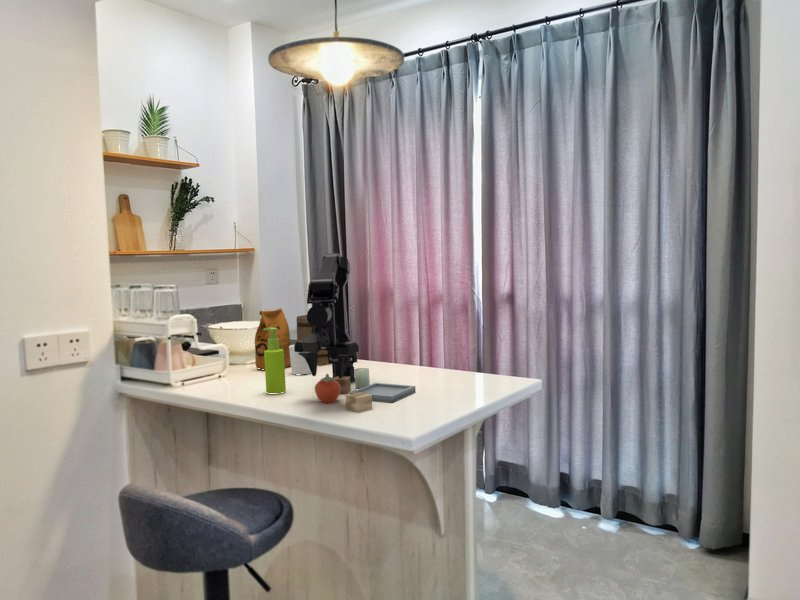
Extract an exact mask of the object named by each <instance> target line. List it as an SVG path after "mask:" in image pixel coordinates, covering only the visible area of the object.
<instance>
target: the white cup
mask: <svg viewBox="0 0 800 600" xmlns="http://www.w3.org/2000/svg"><path fill="white" fill-rule="evenodd" d="M294 345H295V344H291V345H290V346H289V353H290V363H291V366H290V368H291V369H290V370H291V375H293V374H306V375H310V374H312V373H311V371H310V368H309V366H308V363H307V361H306V360H305V358H304V357H303V356H301V355H299V354H298V353H300V352H295V351H294ZM309 373H310V374H309Z"/></svg>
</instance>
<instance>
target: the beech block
mask: <svg viewBox="0 0 800 600" xmlns="http://www.w3.org/2000/svg"><path fill="white" fill-rule="evenodd" d="M346 409H347V410H346ZM372 409H373V401H372V394H367V393H362V392H358V393H354V394H350V393H349V394H345V410H346V411H350V410H351V412H354V411H355V413H362V412H365V410H366V411H369V410H372ZM361 411H362V412H361Z"/></svg>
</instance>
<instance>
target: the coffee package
mask: <svg viewBox="0 0 800 600" xmlns="http://www.w3.org/2000/svg"><path fill="white" fill-rule="evenodd" d="M259 316H261V318H260V321H259V324H258V327H257V328H256V332H255V334H254V335H255V336H254V350H255V351H254V352H255V357H254V358H255V367H256V369H257V368H260V369H264V371H265V359H264V351H265V350H268V339H269V338H270V330H263V329H264V328H270V327H274V328H278V330H277V331H276V338H278V339H279V349H283V350H284V366H285V367H287V366H289V367H291V363H290V353H289V346H290V345H292V344H291V335H290V333H291V332H290V327H289V323H288V320H287V318H286V316H285V313H284V311H283V309H282V308H277V309H275V310H259ZM287 368H288V367H287Z"/></svg>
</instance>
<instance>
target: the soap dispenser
mask: <svg viewBox="0 0 800 600" xmlns="http://www.w3.org/2000/svg"><path fill="white" fill-rule="evenodd" d="M263 330H270V338H269V339H268V350H265V351H264V359H265V370H264V372H265V376H264V377H265V391H266V392H268V393H281V392H285V391H286V392H287V389H286V388H287V387H286V385H287V384H286V371H285V370H286V368H285V366H284V350H283V349H279V339H278V338H276V331H277V330H278V328H274V327H270V328H264V329H263ZM286 392H285V393H286Z"/></svg>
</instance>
